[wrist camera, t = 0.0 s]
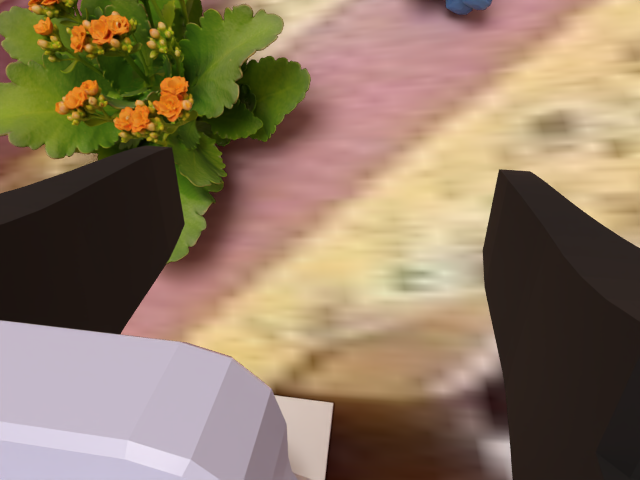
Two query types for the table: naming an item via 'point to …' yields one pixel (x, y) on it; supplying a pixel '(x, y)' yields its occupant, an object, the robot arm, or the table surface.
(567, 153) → the table surface
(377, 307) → the table surface
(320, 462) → the board
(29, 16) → the potted flower
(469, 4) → the grapes
